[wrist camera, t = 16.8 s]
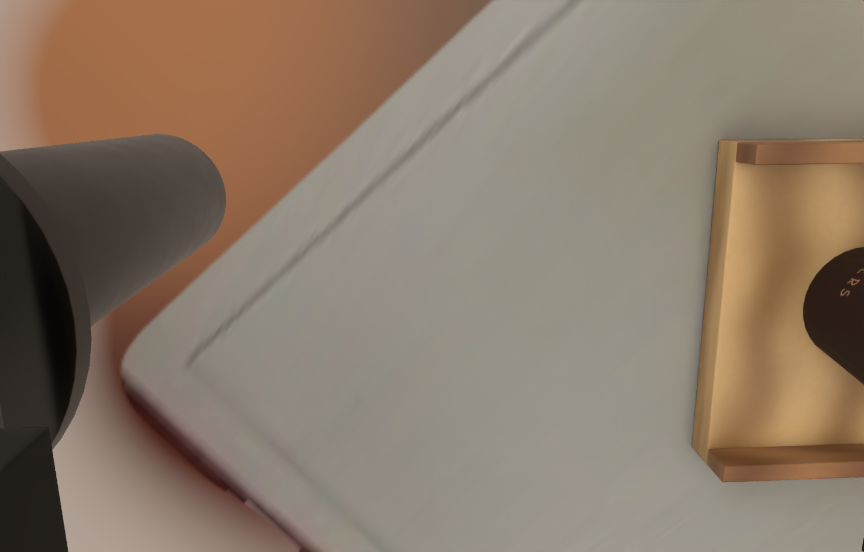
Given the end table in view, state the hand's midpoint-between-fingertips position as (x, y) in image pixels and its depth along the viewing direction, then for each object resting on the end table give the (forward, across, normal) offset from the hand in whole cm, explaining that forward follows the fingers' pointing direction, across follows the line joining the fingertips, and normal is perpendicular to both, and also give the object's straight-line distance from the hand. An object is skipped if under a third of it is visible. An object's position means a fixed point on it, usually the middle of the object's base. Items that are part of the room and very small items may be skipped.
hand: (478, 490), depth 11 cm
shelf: (+27, +24, -5) cm, 36 cm away
